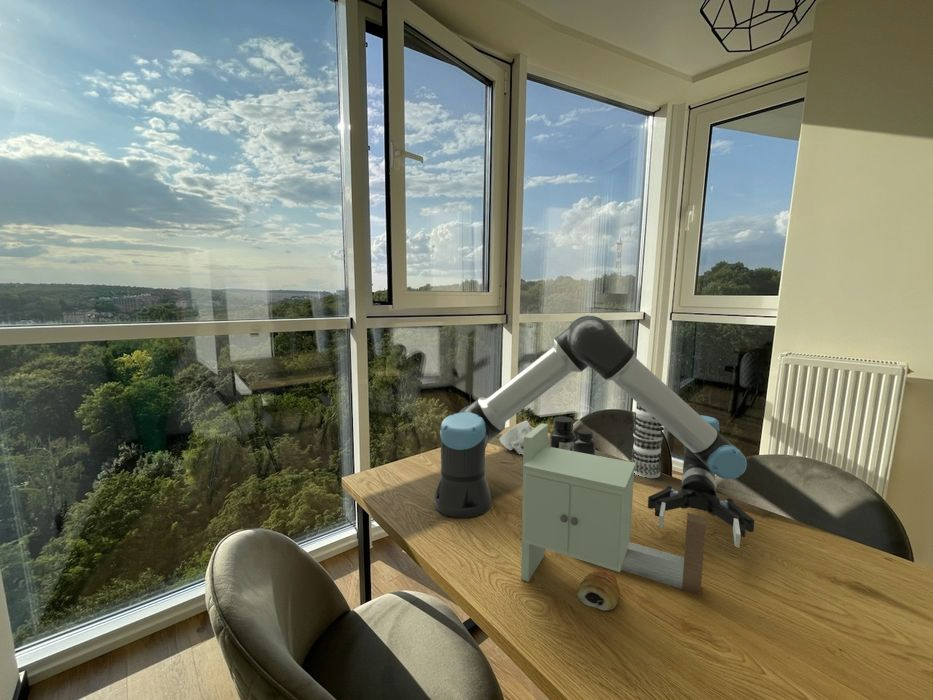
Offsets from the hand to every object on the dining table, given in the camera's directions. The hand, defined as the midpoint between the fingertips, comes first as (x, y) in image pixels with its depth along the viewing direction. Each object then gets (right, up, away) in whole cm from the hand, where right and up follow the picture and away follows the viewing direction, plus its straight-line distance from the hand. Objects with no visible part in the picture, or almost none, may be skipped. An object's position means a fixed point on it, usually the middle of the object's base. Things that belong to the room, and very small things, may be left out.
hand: (697, 530), depth 83 cm
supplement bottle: (-9, -2, +50) cm, 51 cm away
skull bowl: (-28, 0, +66) cm, 71 cm away
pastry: (-22, -9, -7) cm, 25 cm away
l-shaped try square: (-13, -8, 0) cm, 15 cm away
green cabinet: (-26, -9, -5) cm, 28 cm away
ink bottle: (-12, 0, +64) cm, 65 cm away
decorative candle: (+10, -2, +47) cm, 48 cm away
